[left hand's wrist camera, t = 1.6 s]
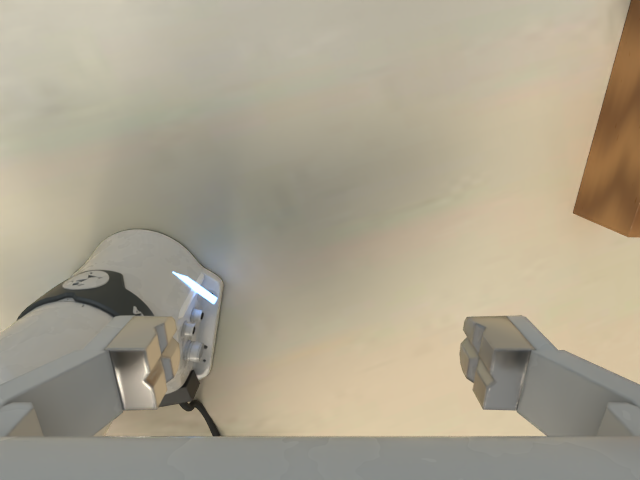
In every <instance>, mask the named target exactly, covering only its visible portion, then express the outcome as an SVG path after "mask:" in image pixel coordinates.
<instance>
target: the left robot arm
mask: <svg viewBox="0 0 640 480" xmlns="http://www.w3.org/2000/svg"><path fill="white" fill-rule="evenodd" d="M210 292H212V293H214V295H212V294H211V293H210ZM222 292H223V282H222V280H221V279H220V278H219V277H218V276H217V275H215V274H214V273H212V272H211V271H209V270H207V269H205V268H203V267H202V266H201V265H200V264H199V263H198V261H197V260H196V259H195V258H194V257H193V255H192V254H191V253H190V252H189V251H188V250H187V249H186V248H185V247H184V246H182V245H181V244H180V243H178V242H177V241H175V240H174V239H172V238H170V237H168V236H166V235H163V234H161V233H158V232H154V231H150V230H143V229H132V230H125V231H121V232H118V233H115V234H113V235H111V236H109V237H108V238H106V239H105V240H103V241H102V242H101V243H100V244H99V245H98V246H97V248H96V249H95V250H94V252H93V253H92V255H91V256H90V258H89V259H88V260H87V261H86V262H85V264H84V265H83V266H82V267H81V268H80V269H79V270H78V271H76V272H75V273H74V274H73V275H72V276H71V277H70V278H69V279H67V280H65V281H64V282H62V283H60V284H59V285H57V286H56V287H54V288H53V289H51V290H50V291H48V292H47V293H46V294H44V295H43V296H41V297H40V298H39V299H37V300H36V301H35V302H34V303H32V304H31V305H30V306H28V307H27V308H26V309H25V310H24V311H23V312H22V313H21V314H20V316H19V317H18V319H17V321H16V322H15V323H13V324H12V325H11V326H9V327H8V328H6V329H5V330H4V331H2V332H1V333H0V480H640V385H639V384H637V383H635V382H633V381H630V380H628V379H626V378H624V377H622V376H619V375H617V374H615V373H613V372H611V371H609V370H606V369H604V368H602V367H600V366H598V365H595V364H593V363H591V362H589V361H587V360H584V359H582V358H580V357H578V356H576V355H573V354H571V353H569V352H567V351H565V350H558V349H557V348H556V347H555V346H554V345H553V344H552V343H551V342H550V341H549V340H548V339H547V338H546V337H545V336H544V335H543V334H542V333H541V332H540V331H539V330H538V329H537V328H536V327H535V326H534V325H533V324H532V323H531V322H530V321H529V320H528V319H527V318H526V317H524V316H522V315H515V316H483V317H467V318H466V320H465V322H464V327H463V331H464V332H465V334H466V336H467V338H466V339H465V340H464V341H463V342H462V343H461V346H460V364H461V367H462V370H463V373H464V375H465V377H466V378H467V379H468V380H470V381H471V382H473V383H474V385H473V392H474V394H475V395H476V397H477V399H478V401H479V403H480V405H481V406H482V408H483V409H485V410H517V413H519V414H520V415H521V416H522V417H524V418H525V419H526V420H528V421H529V422H530V423H531V424H533V425H534V426H535V427H536V428H538V429H539V430H540V431H541V432H543V433H544V434H545V435H546V436H220V435H219V433H218V431H217V428H216V426H215V424H214V422H213V421H212V419H211V417H210V416H209V414H208V413H207V411H206V409H205V408H204V406H203V405H202V404H201V403H200V402H199V401H197V400H193V398H194V396H195V393H196V391H197V389H198V386H199V384H200V383H199V380H200V379H202V378H204V377H206V376H207V375H208V374H209V372H210V371H211V367H212V361H213V354H214V347H215V340H216V333H217V326H218V319H219V312H220V306H221V299H222ZM190 401H192V402H191V403H190V404H188V403H187V402H190ZM174 404H180V406H181V407H182V408H183V409H184V410H186V411H192V410H193V409H194V407H196V408H197V409H198V410H199V411H200V412H201V414H202V415H203V417H204V418H205V420H206V422H207V424H208V426H209V428H210V431H211V433H212V435H213V436H105V434H106V432H107V430H108V428H109V426H110V425H111V423H112V421H113V420H114V419H115V418H116V417H118V416H119V415H120V414H121V413H123V410H154V409H157V408H158V407H163V406H168V405H174Z"/></svg>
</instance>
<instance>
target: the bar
mask: <svg viewBox="0 0 640 480" xmlns="http://www.w3.org/2000/svg"><path fill="white" fill-rule="evenodd" d="M573 213H574V214H576V215H578V216H581V217H583V218H585V219H588V220H590V221H592V222H594V223H597V224H599V225H601V226H604V227H606V228H608V229H611V230H613V231H615V232H617V233H620V234H622V235H624V236H627V237H640V0H631V3H630V7H629V11H628V14H627V18H626V22H625V25H624V29H623V32H622V36H621V40H620V43H619V47H618V51H617V54H616V58H615V62H614V65H613V69H612V73H611V76H610V80H609V84H608V87H607V91H606V95H605V98H604V102H603V105H602V109H601V113H600V116H599V120H598V124H597V127H596V131H595V135H594V138H593V142H592V146H591V149H590V153H589V157H588V160H587V164H586V168H585V171H584V175H583V178H582V182H581V186H580V189H579V193H578V197H577V200H576V204H575V208H574V211H573Z"/></svg>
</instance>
